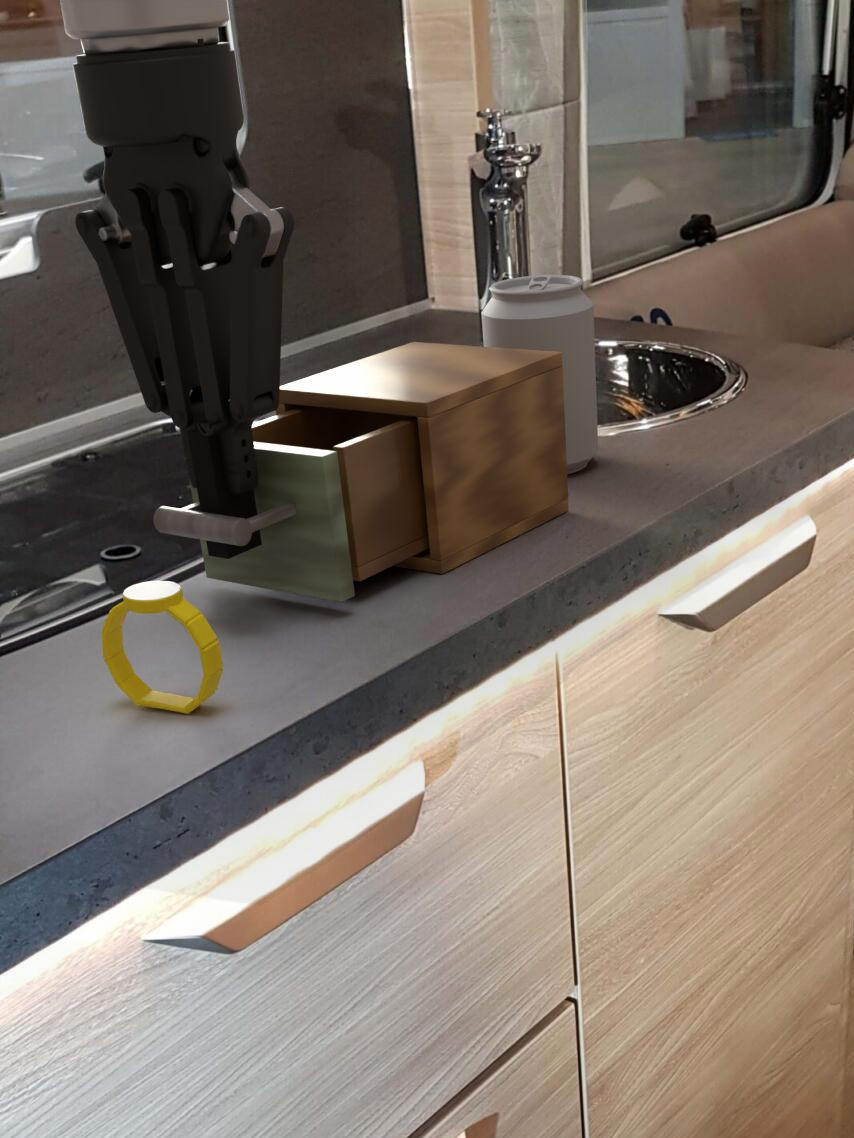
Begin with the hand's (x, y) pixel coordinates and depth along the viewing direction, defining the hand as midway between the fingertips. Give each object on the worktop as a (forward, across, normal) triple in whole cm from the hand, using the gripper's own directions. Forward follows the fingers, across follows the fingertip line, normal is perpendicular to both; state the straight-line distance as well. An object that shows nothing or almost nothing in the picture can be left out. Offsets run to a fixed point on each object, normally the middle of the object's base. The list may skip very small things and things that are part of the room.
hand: (235, 549), depth 85 cm
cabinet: (+4, 0, -17) cm, 18 cm away
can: (+4, +2, -32) cm, 33 cm away
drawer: (+3, 0, -6) cm, 7 cm away
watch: (+4, -6, +11) cm, 13 cm away
